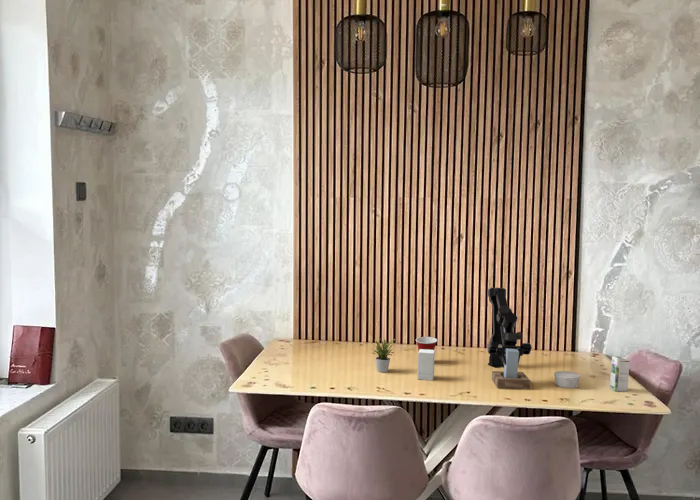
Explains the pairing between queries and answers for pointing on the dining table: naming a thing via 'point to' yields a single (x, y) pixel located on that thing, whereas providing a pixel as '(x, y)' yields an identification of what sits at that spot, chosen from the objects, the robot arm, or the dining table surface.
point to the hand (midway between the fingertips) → (511, 364)
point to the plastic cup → (426, 343)
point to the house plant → (383, 356)
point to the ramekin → (566, 379)
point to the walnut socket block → (510, 381)
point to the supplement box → (426, 364)
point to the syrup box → (619, 373)
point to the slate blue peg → (511, 363)
